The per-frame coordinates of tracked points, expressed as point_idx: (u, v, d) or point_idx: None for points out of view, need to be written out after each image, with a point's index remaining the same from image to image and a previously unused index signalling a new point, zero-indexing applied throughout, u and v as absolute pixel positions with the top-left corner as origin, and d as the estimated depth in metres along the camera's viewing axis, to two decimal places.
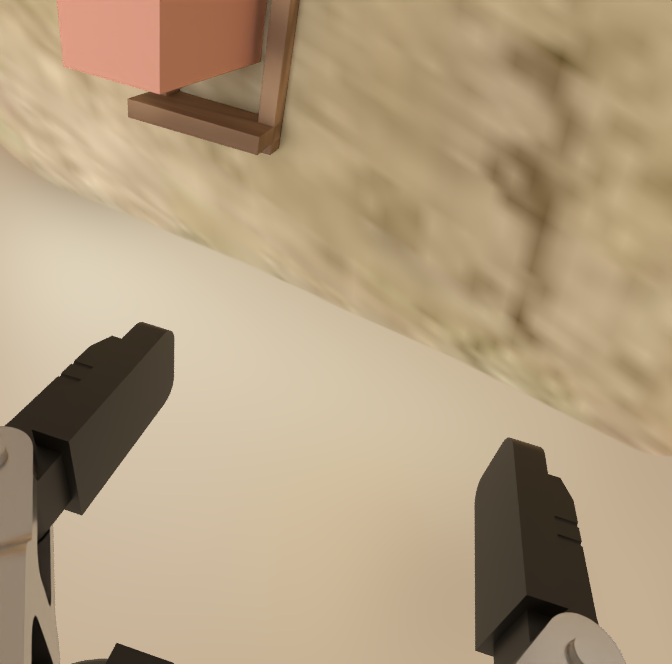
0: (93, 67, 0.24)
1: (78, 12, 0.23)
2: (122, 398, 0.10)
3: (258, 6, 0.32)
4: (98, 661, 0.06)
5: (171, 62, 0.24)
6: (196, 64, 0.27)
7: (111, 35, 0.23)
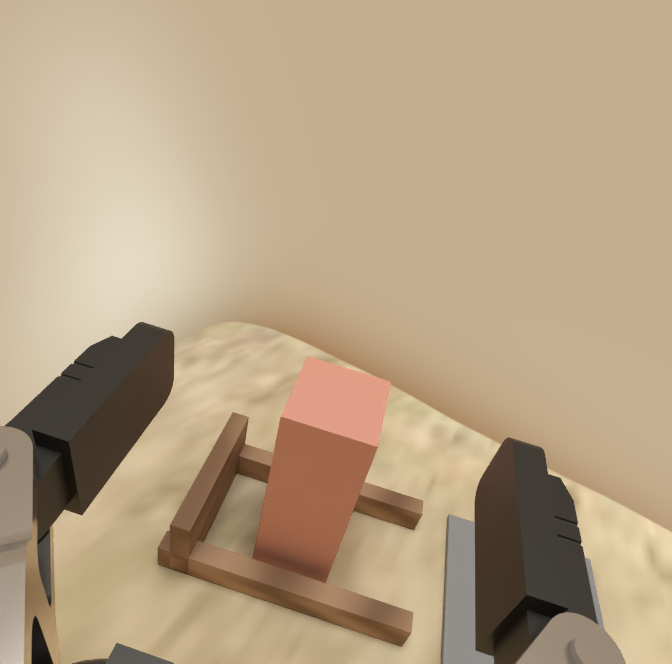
0: (305, 375, 0.27)
1: (345, 380, 0.28)
2: (123, 398, 0.10)
3: (304, 564, 0.32)
4: (98, 661, 0.06)
5: (301, 439, 0.25)
6: (287, 470, 0.27)
7: (328, 395, 0.27)
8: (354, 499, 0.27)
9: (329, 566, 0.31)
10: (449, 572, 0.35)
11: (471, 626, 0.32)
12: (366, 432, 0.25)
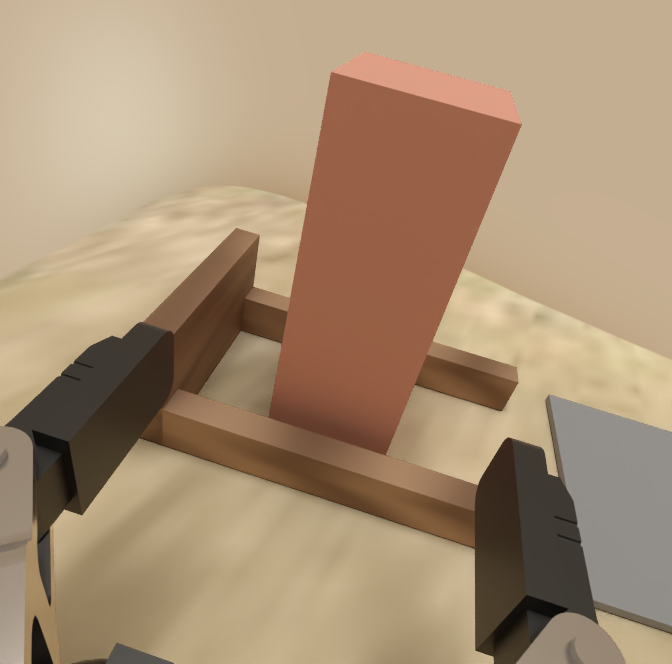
0: (367, 60, 0.15)
1: (434, 75, 0.16)
2: (123, 398, 0.10)
3: (349, 433, 0.20)
4: (98, 661, 0.06)
5: (367, 131, 0.13)
6: (334, 220, 0.15)
7: (412, 78, 0.15)
8: (454, 275, 0.15)
9: (391, 433, 0.19)
10: (565, 463, 0.23)
11: (616, 535, 0.20)
12: (492, 110, 0.13)
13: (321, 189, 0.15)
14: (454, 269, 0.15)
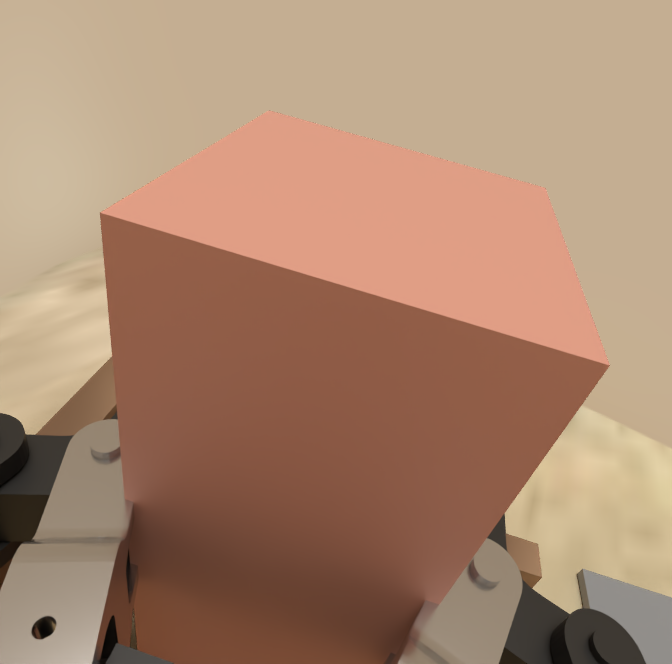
0: (256, 137, 0.08)
1: (397, 165, 0.08)
2: None
3: None
4: None
5: (216, 342, 0.05)
6: (180, 482, 0.07)
7: (341, 187, 0.07)
8: (435, 593, 0.07)
9: None
10: None
11: None
12: (525, 303, 0.05)
13: (141, 433, 0.07)
14: (435, 585, 0.07)
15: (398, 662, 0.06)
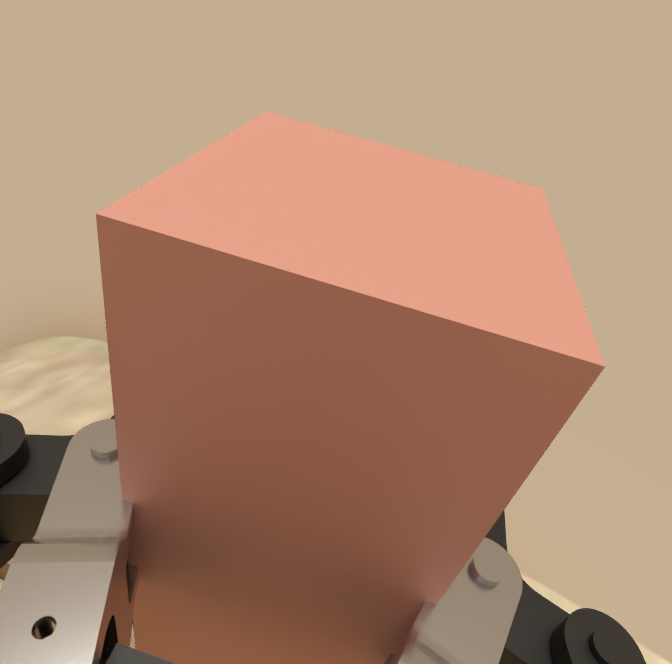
0: (253, 138, 0.08)
1: (395, 166, 0.08)
2: None
3: None
4: None
5: (211, 342, 0.05)
6: (178, 482, 0.07)
7: (338, 188, 0.07)
8: (432, 593, 0.07)
9: None
10: None
11: None
12: (521, 304, 0.05)
13: (138, 434, 0.07)
14: (432, 585, 0.07)
15: (398, 662, 0.06)
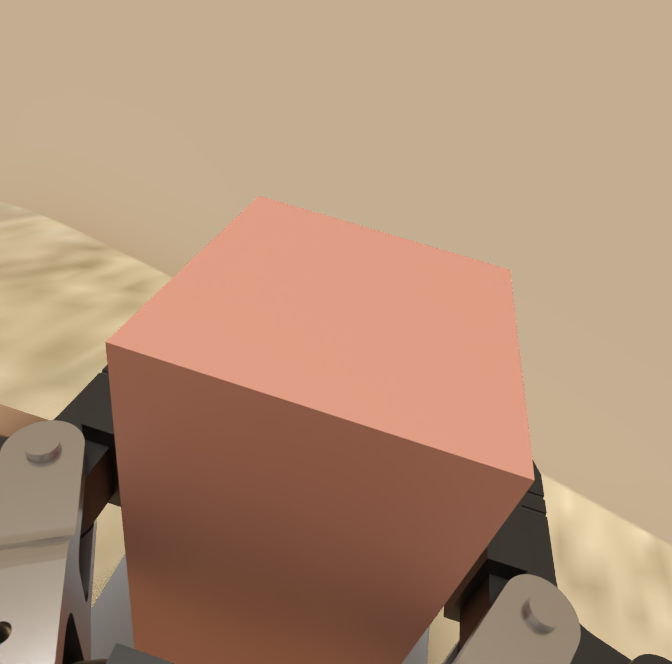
0: (245, 233, 0.08)
1: (373, 255, 0.09)
2: None
3: None
4: (98, 661, 0.06)
5: (204, 442, 0.06)
6: (175, 546, 0.08)
7: (318, 289, 0.07)
8: (403, 646, 0.08)
9: None
10: (117, 578, 0.17)
11: None
12: (470, 414, 0.06)
13: (140, 506, 0.07)
14: (403, 639, 0.08)
15: None
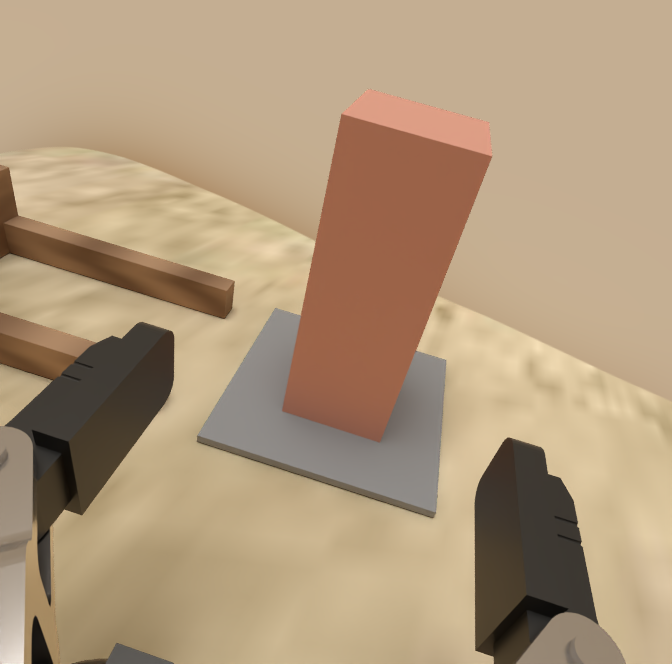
0: (370, 98, 0.19)
1: (426, 110, 0.19)
2: (122, 398, 0.10)
3: (353, 410, 0.23)
4: (98, 661, 0.06)
5: (370, 160, 0.17)
6: (342, 230, 0.18)
7: (407, 114, 0.18)
8: (441, 275, 0.18)
9: (389, 410, 0.23)
10: (251, 353, 0.27)
11: (259, 400, 0.25)
12: (470, 144, 0.16)
13: (332, 205, 0.18)
14: (441, 270, 0.18)
15: None
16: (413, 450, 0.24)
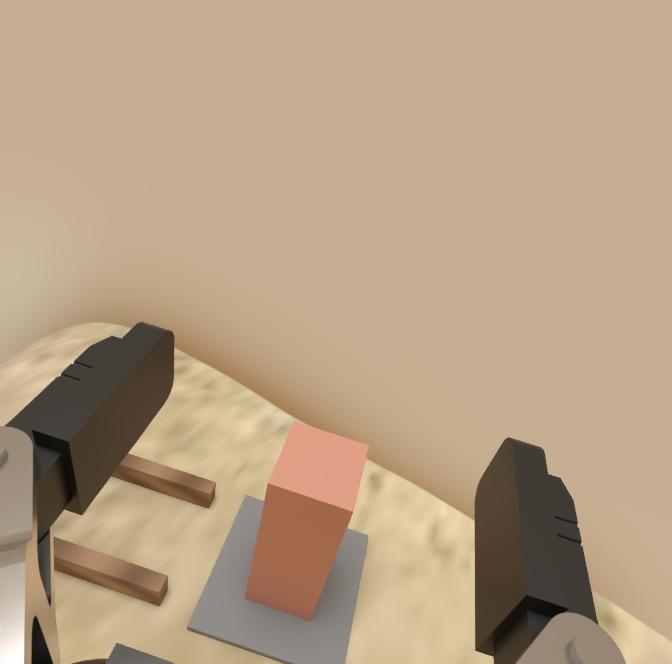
0: (292, 441, 0.31)
1: (327, 445, 0.31)
2: (123, 398, 0.10)
3: (291, 604, 0.35)
4: (98, 661, 0.06)
5: (286, 502, 0.29)
6: (274, 526, 0.30)
7: (311, 461, 0.30)
8: (334, 552, 0.30)
9: (313, 607, 0.35)
10: (226, 544, 0.39)
11: (229, 590, 0.37)
12: (343, 497, 0.28)
13: (267, 516, 0.30)
14: (334, 550, 0.30)
15: None
16: (332, 626, 0.36)
